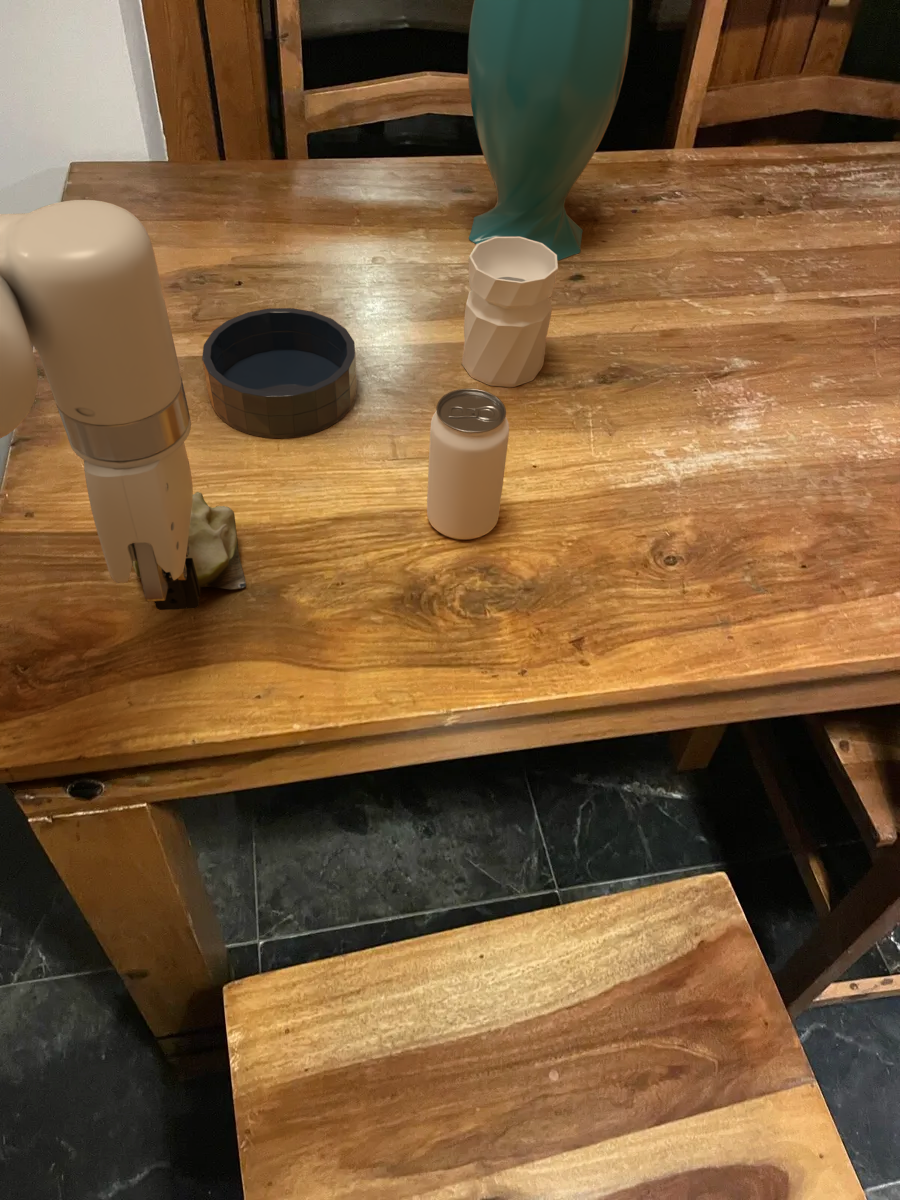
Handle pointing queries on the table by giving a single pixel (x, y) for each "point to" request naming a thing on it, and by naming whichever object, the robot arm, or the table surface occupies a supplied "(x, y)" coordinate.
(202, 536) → the fruit
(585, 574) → the table surface
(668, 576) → the table surface
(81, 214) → the robot arm
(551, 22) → the vase
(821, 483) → the table surface
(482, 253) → the vase
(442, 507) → the can
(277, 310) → the pan
